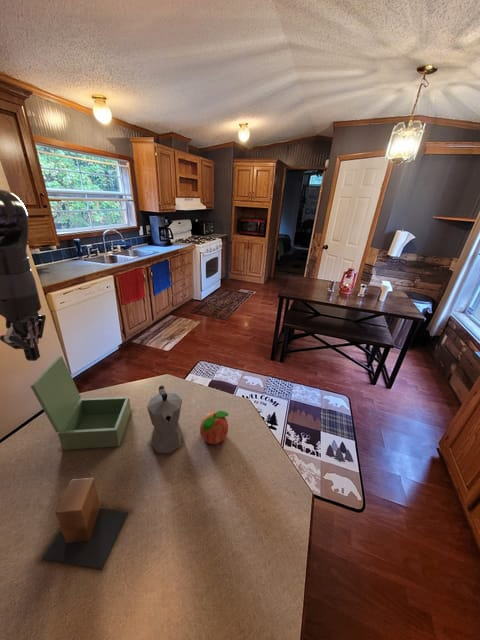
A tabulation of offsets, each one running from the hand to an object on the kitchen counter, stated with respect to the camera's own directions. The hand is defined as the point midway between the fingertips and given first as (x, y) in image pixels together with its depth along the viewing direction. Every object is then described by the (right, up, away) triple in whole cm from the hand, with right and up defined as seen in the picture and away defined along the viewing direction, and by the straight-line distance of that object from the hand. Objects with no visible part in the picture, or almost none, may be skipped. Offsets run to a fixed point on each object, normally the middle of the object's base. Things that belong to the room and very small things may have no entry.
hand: (33, 359), depth 62 cm
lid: (0, -11, +9) cm, 14 cm away
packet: (+17, -34, -7) cm, 39 cm away
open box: (+7, -25, +16) cm, 30 cm away
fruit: (+42, -27, +17) cm, 53 cm away
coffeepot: (+28, -27, +15) cm, 42 cm away
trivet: (+19, -36, -8) cm, 42 cm away
